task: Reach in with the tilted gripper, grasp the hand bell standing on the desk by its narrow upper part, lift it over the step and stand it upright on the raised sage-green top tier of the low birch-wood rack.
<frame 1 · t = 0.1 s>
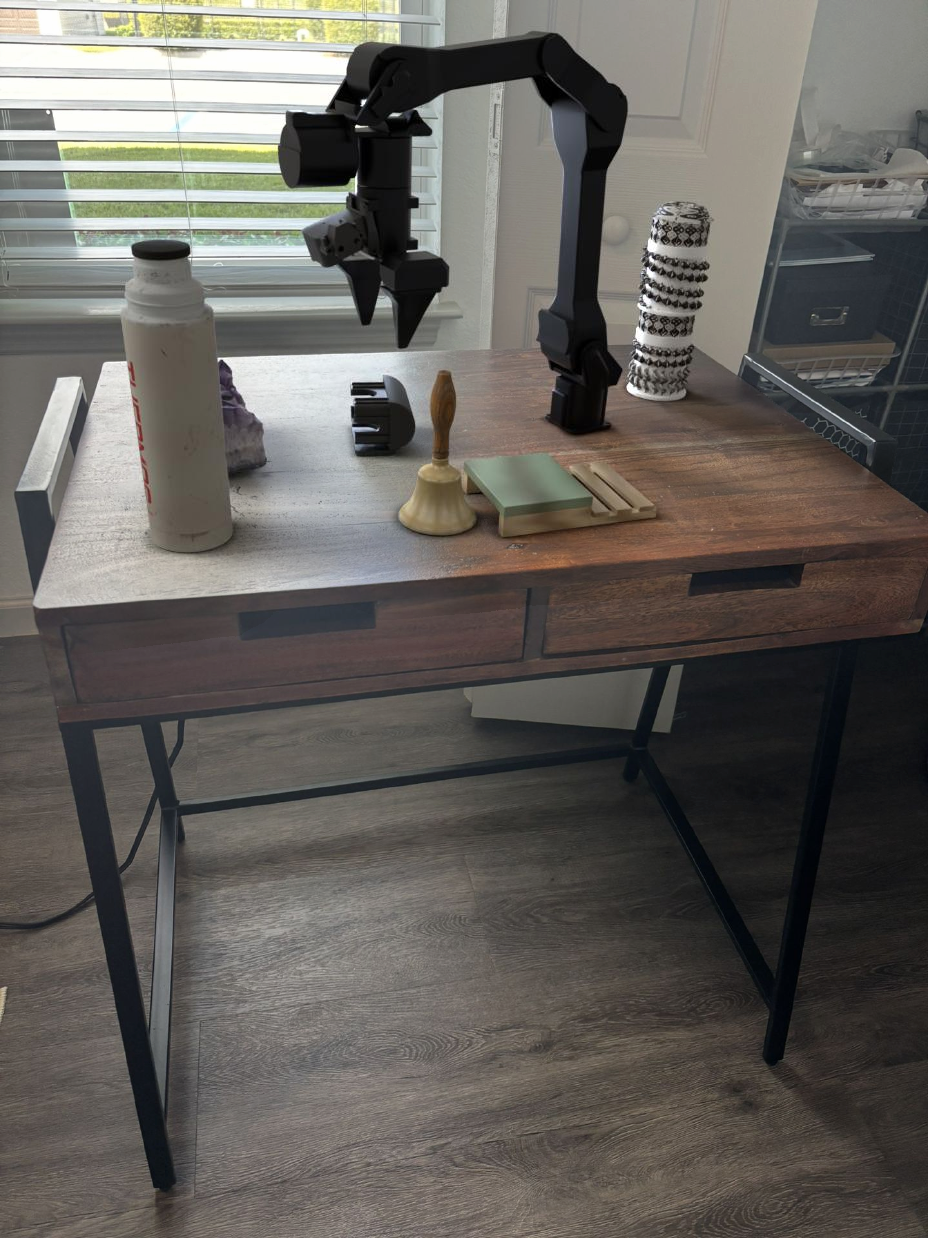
hand: (383, 336, 111), 15 cm above the table, tool pointing down, fingers open, 9 cm apart
end cap: (382, 442, 123), on the table
rack: (565, 502, 111), on the table
decorative candle: (655, 391, 143), on the table
geode: (210, 454, 118), on the table
thermos bottle: (192, 535, 101), on the table
hand bell: (437, 519, 106), on the table
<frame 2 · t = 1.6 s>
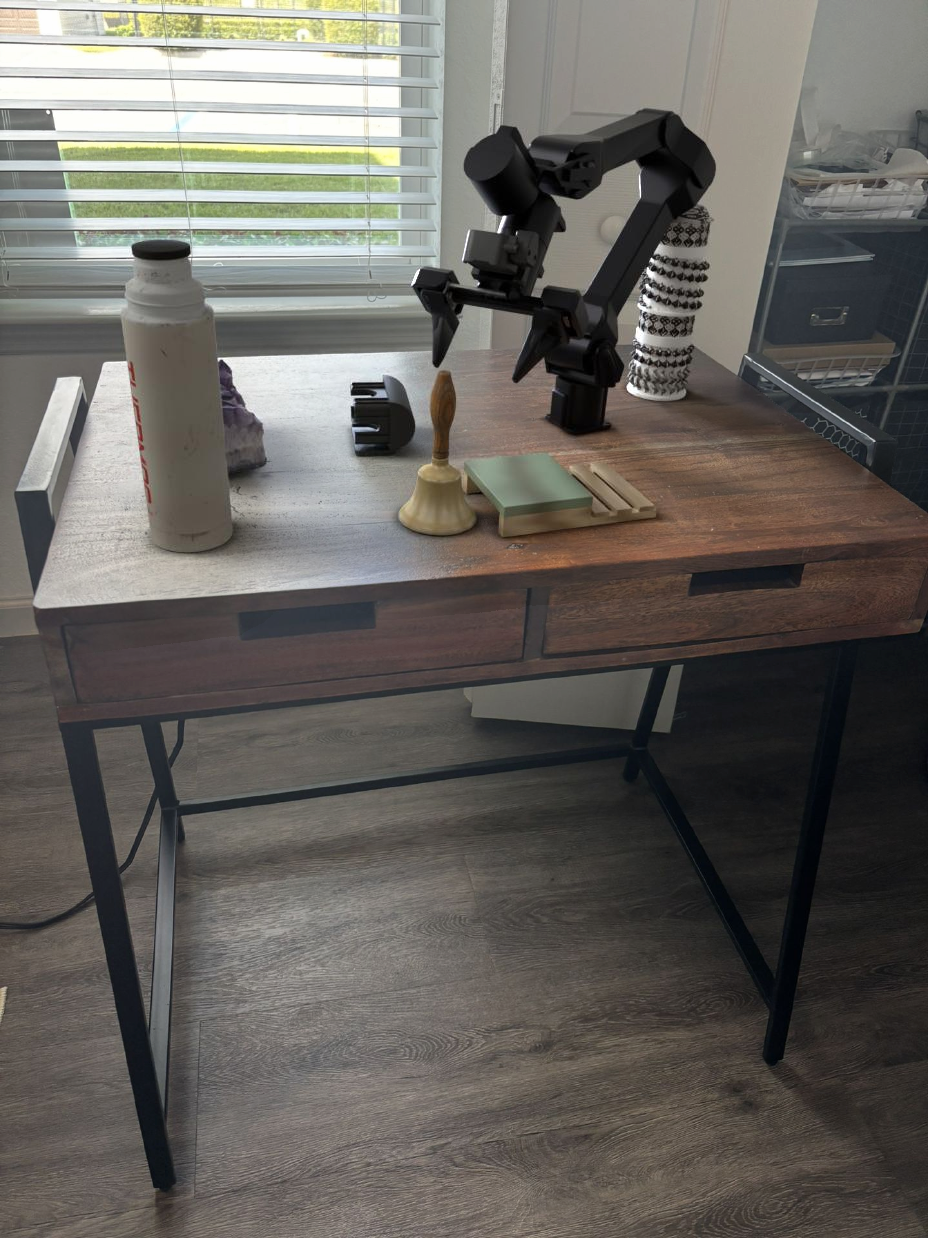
hand: (474, 373, 105), 13 cm above the table, tool tilted 45°, fingers open, 9 cm apart
nothing on the table moved.
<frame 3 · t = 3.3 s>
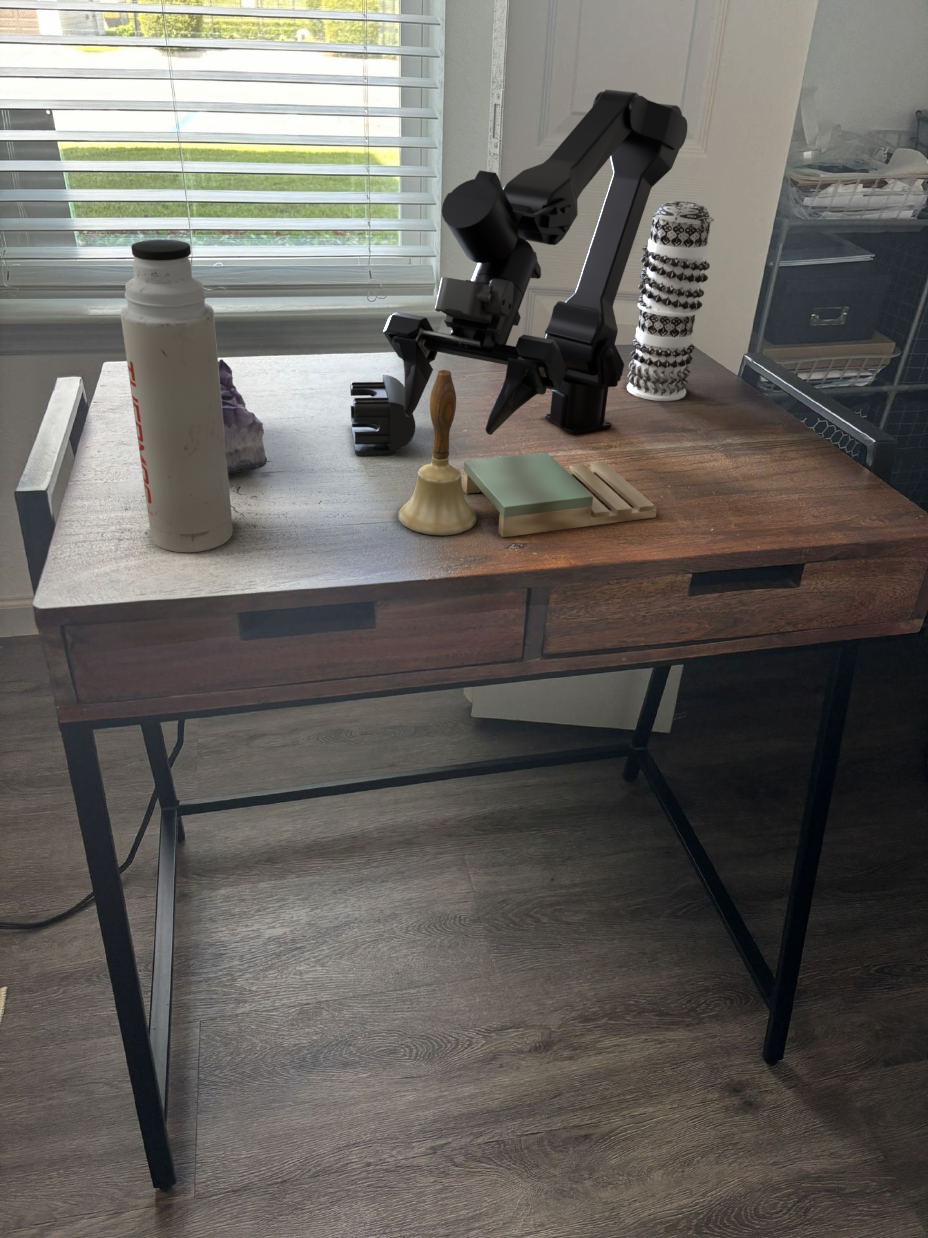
hand: (446, 423, 102), 10 cm above the table, tool tilted 45°, fingers open, 9 cm apart
nothing on the table moved.
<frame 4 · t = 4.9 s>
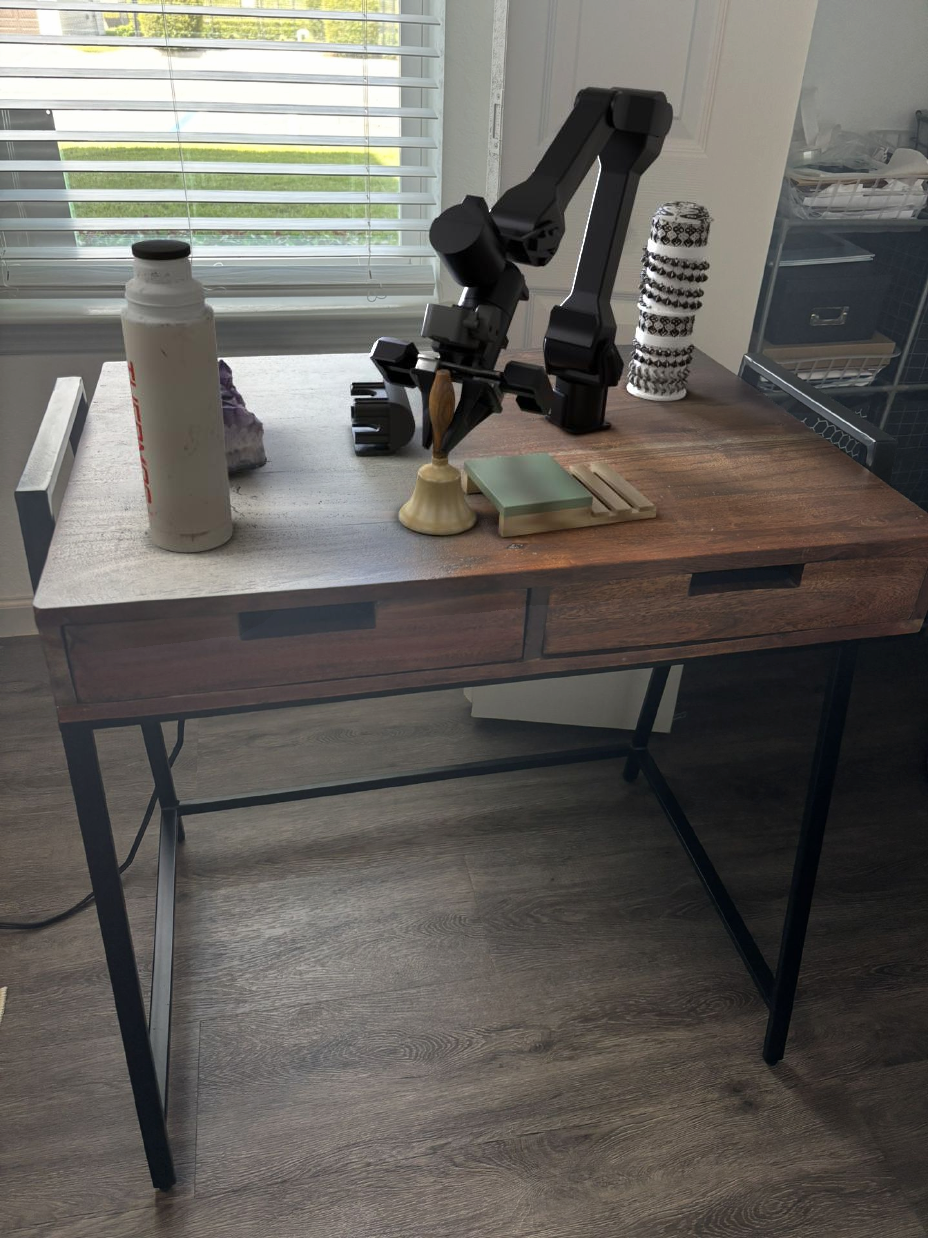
hand: (434, 450, 100), 8 cm above the table, tool tilted 45°, fingers closed on hand bell
hand bell: (437, 519, 106), on the table, touching gripper
everything else where it was.
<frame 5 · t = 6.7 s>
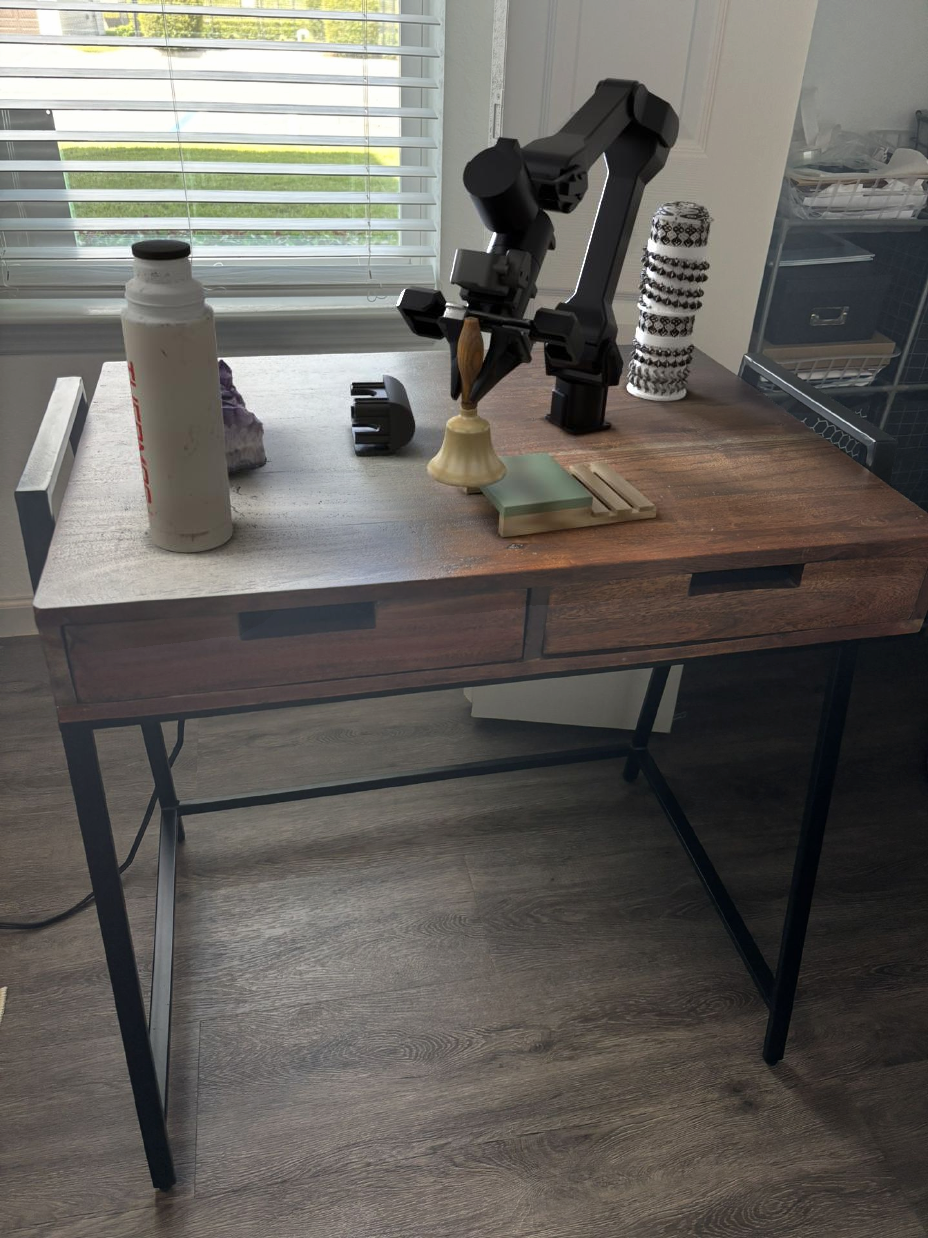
hand: (462, 400, 99), 13 cm above the table, tool tilted 45°, fingers closed on hand bell
hand bell: (466, 472, 105), point 5 cm above the table, touching gripper
everything else where it was.
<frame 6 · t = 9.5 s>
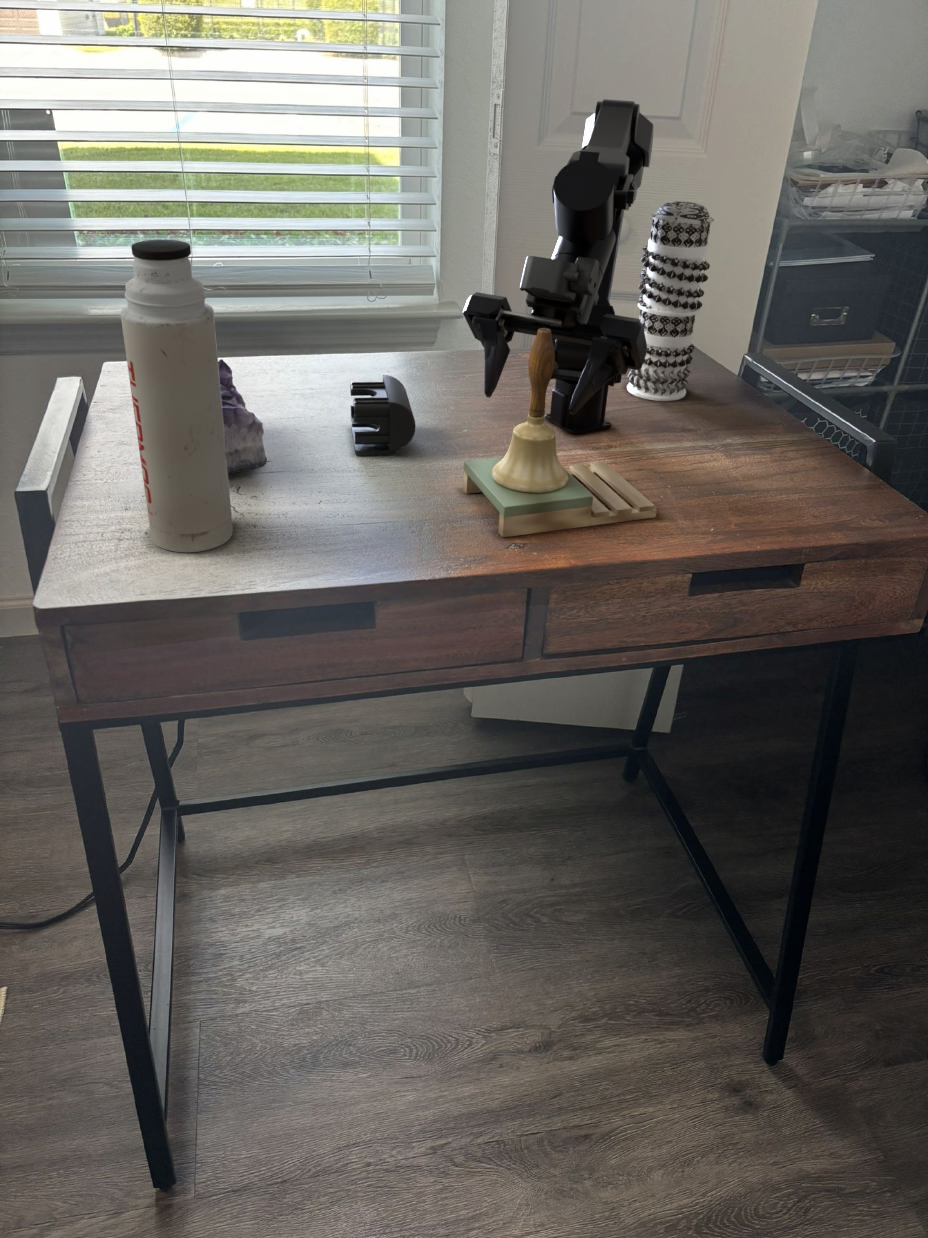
hand: (528, 403, 101), 12 cm above the table, tool tilted 45°, fingers open, 9 cm apart
hand bell: (529, 478, 107), point 3 cm above the table, touching rack
everything else where it was.
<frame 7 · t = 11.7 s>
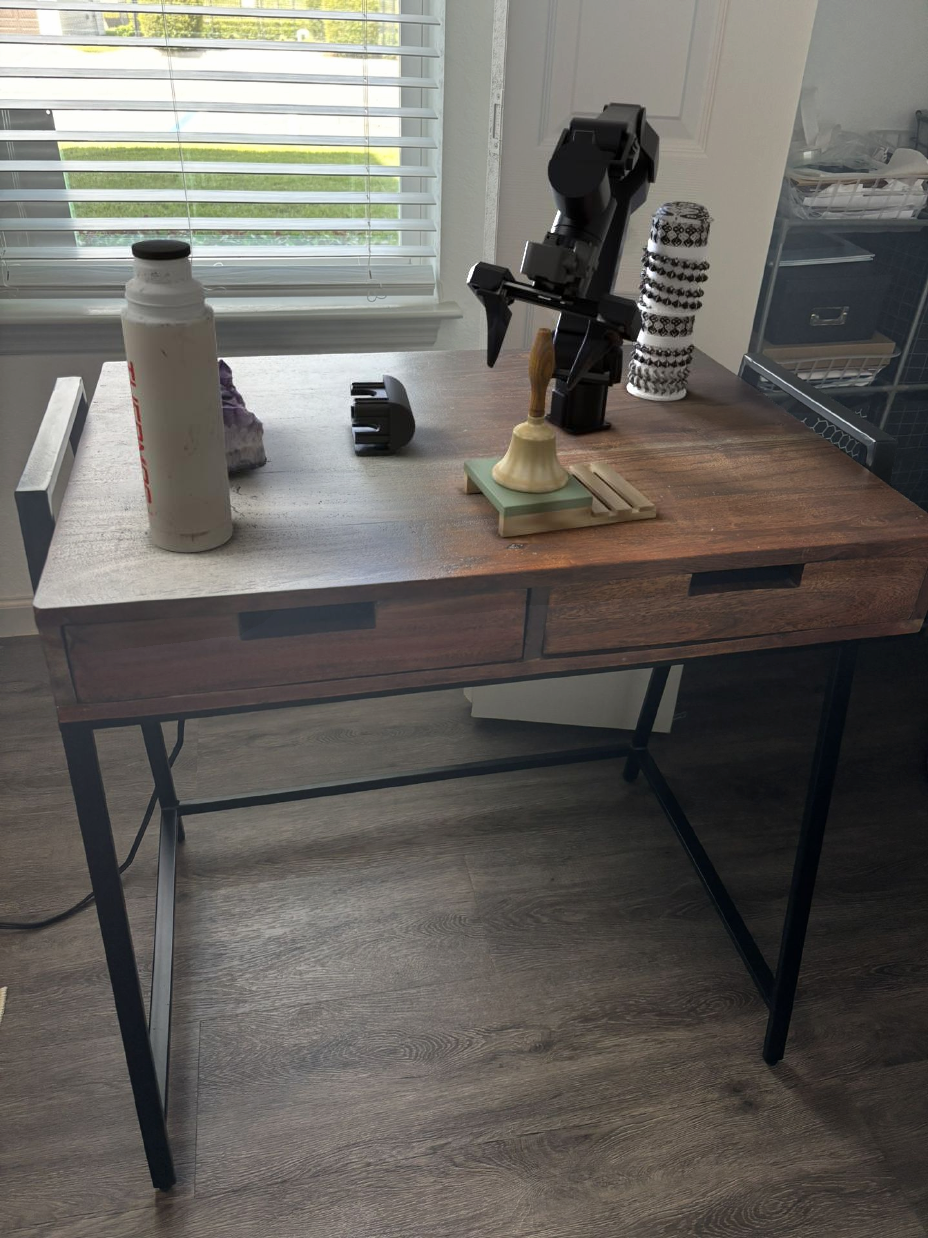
hand: (528, 377, 108), 12 cm above the table, tool tilted 35°, fingers open, 9 cm apart
nothing on the table moved.
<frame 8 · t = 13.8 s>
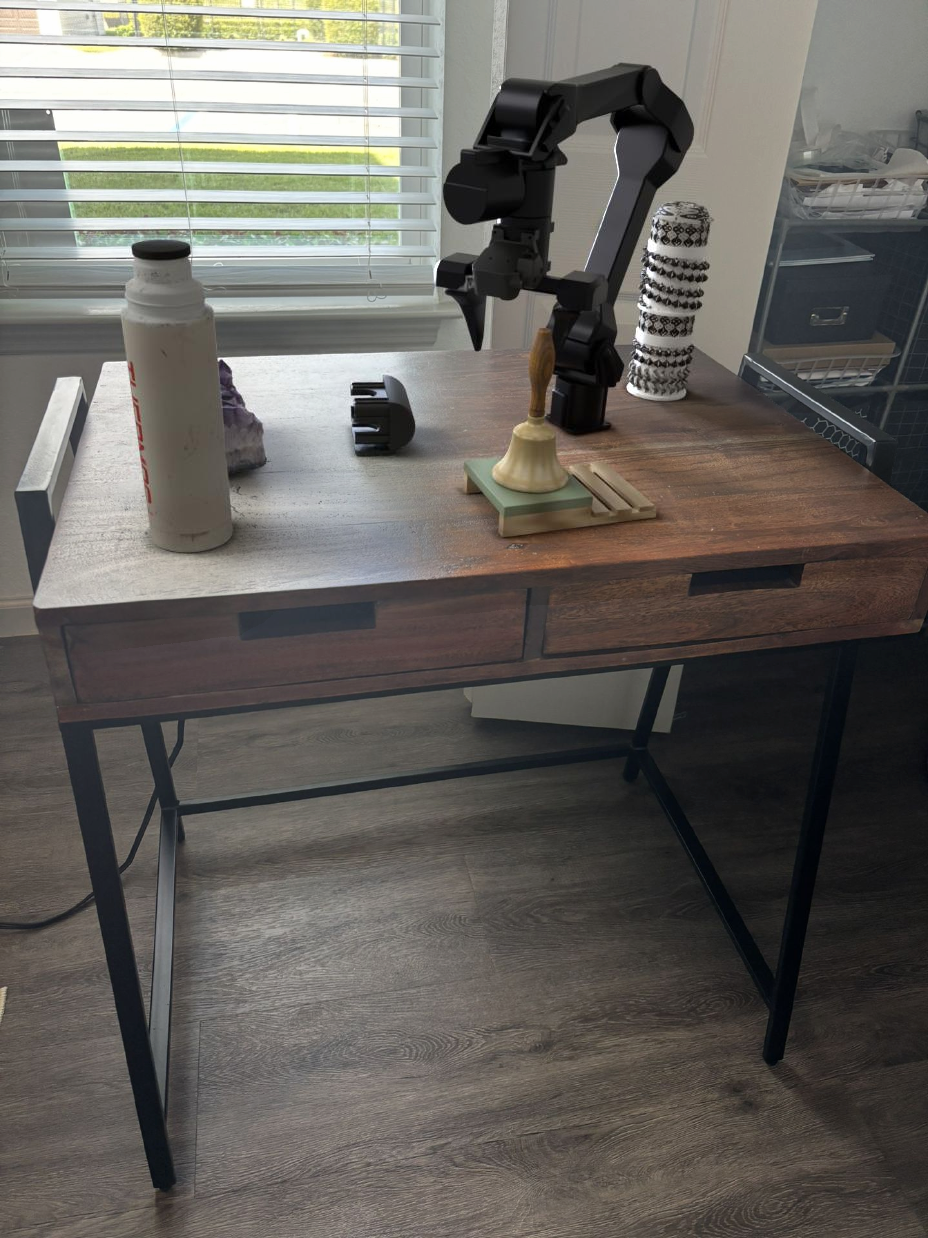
hand: (514, 357, 115), 12 cm above the table, tool pointing down, fingers open, 9 cm apart
nothing on the table moved.
at the end: hand bell 0.4 cm from the target spot, point 3.3 cm above the table; hand bell tilted 0°; the gripper is holding nothing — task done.
